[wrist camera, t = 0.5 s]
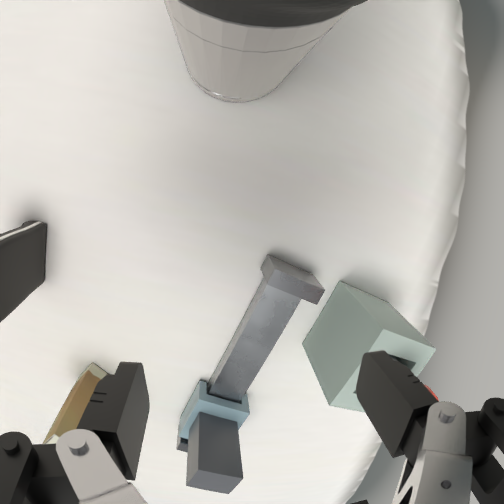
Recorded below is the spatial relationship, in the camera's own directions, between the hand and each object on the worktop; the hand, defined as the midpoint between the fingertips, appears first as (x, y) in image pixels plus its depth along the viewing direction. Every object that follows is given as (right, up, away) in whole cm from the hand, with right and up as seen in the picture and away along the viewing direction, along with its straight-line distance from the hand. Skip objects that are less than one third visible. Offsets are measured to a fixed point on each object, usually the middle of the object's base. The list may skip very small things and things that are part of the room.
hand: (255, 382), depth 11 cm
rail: (-2, -8, +23) cm, 24 cm away
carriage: (-5, -14, +24) cm, 28 cm away
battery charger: (-23, +5, +17) cm, 29 cm away
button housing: (+10, -3, +23) cm, 25 cm away
